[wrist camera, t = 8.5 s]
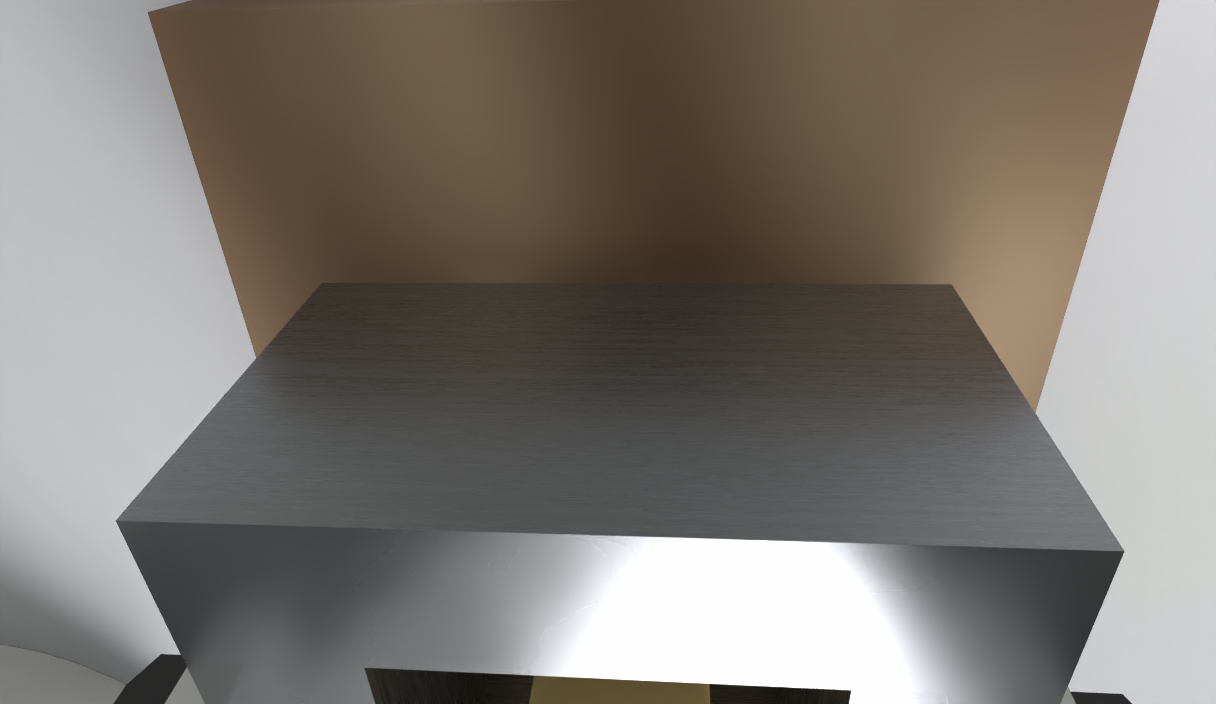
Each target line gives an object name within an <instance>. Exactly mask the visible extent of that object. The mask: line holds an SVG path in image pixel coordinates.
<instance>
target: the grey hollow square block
mask: <svg viewBox="0 0 1216 704" xmlns="http://www.w3.org/2000/svg"><path fill="white" fill-rule="evenodd" d="M116 522H117V524H118V526H119V528H120V530H121V532H122V534H123V537H124V539H125V541H126V543H127V545H128V547H129V549H130V551H131V553H132V555H133V557H134V559H135V561H136V563H137V565H138V567H139V569H140V571H141V574H142V576H143V578H144V580H145V582H146V584H147V586H148V588H149V590H150V592H151V594H152V596H153V598H154V600H155V602H156V604H157V606H158V608H159V611H160V613H161V615H162V617H163V619H164V621H165V623H166V625H167V627H168V629H169V631H170V633H171V635H172V637H173V639H174V641H175V643H176V645H177V648H178V650H179V652H180V654H181V656H182V658H183V660H184V662H185V664H186V666H187V668H188V670H189V672H190V674H191V676H192V678H193V680H194V682H195V685H196V687H197V689H198V691H199V693H200V695H201V697H202V699H203V701H204V703H205V704H529V701H530V695H531V690H532V684H533V679H534V675H535V676H557V677H579V678H600V679H622V680H644V681H665V682H687V683H708V684H710V704H1060V703H1061V701H1062V699H1063V696H1064V694H1065V692H1066V689H1067V687H1068V684H1069V682H1070V680H1071V677H1072V675H1073V673H1074V670H1075V668H1076V665H1077V663H1078V661H1079V658H1080V656H1081V653H1082V651H1083V649H1084V646H1085V644H1086V642H1087V639H1088V637H1089V634H1090V632H1091V630H1092V627H1093V625H1094V623H1095V620H1096V618H1097V615H1098V613H1099V611H1100V608H1101V606H1102V603H1103V601H1104V599H1105V596H1106V594H1107V592H1108V589H1109V587H1110V584H1111V582H1112V580H1113V577H1114V575H1115V573H1116V570H1117V568H1118V565H1119V563H1120V561H1121V558H1122V556H1123V553H1124V550H1123V548H1122V547H1121V545H1120V544H1119V542H1118V541H1117V539H1116V538H1115V536H1114V534H1113V533H1112V531H1111V530H1110V528H1109V527H1108V525H1107V524H1106V522H1105V521H1104V519H1103V517H1102V516H1101V514H1100V513H1099V511H1098V510H1097V508H1096V507H1095V505H1094V504H1093V502H1092V500H1091V499H1090V497H1089V496H1088V494H1087V493H1086V491H1085V490H1084V488H1083V486H1082V485H1081V483H1080V482H1079V480H1078V479H1077V477H1076V476H1075V474H1074V473H1073V471H1072V469H1071V468H1070V466H1069V465H1068V463H1067V462H1066V460H1065V459H1064V457H1063V456H1062V454H1061V452H1060V451H1059V449H1058V448H1057V446H1056V445H1055V443H1054V442H1053V440H1052V439H1051V437H1050V435H1049V434H1048V432H1047V431H1046V429H1045V428H1044V426H1043V425H1042V423H1041V422H1040V420H1039V418H1038V417H1037V415H1036V414H1035V412H1034V411H1033V409H1032V408H1031V406H1030V405H1029V403H1028V401H1027V400H1026V398H1025V397H1024V395H1023V394H1022V392H1021V391H1020V389H1019V388H1018V386H1017V384H1016V383H1015V381H1014V380H1013V378H1012V377H1011V375H1010V374H1009V372H1008V370H1007V369H1006V367H1005V366H1004V364H1003V363H1002V361H1001V360H1000V358H999V357H998V355H997V353H996V352H995V350H994V349H993V347H992V346H991V344H990V343H989V341H988V340H987V338H986V336H985V335H984V333H983V332H982V330H981V329H980V327H979V326H978V324H977V323H976V321H975V319H974V318H973V316H972V315H971V313H970V312H969V310H968V309H967V307H966V306H965V304H964V302H963V301H962V299H961V298H960V296H959V295H958V293H957V292H956V290H955V289H954V287H953V285H952V284H612V283H321V284H320V285H319V287H318V288H317V289H316V290H315V291H314V292H313V294H312V295H311V296H310V297H309V298H308V299H307V300H306V302H305V303H304V304H303V305H302V306H301V307H300V309H299V310H298V311H297V312H296V313H295V314H294V315H293V317H292V318H291V319H290V320H289V321H288V322H287V324H286V325H285V326H284V327H283V328H282V329H281V330H280V332H279V333H278V334H277V335H276V336H275V337H274V339H273V340H272V341H271V342H270V343H269V344H268V345H267V347H266V348H265V349H264V350H263V351H262V352H261V354H260V355H259V356H258V357H257V358H256V359H255V361H254V362H253V363H252V364H251V365H250V366H249V367H248V369H247V370H246V371H245V372H244V373H243V374H242V376H241V377H240V378H239V379H238V380H237V381H236V382H235V384H234V385H233V386H232V387H231V388H230V389H229V391H228V392H227V393H226V394H225V395H224V396H223V397H222V399H221V400H220V401H219V402H218V403H217V404H216V406H215V407H214V408H213V409H212V410H211V411H210V412H209V414H208V415H207V416H206V417H205V418H204V419H203V421H202V422H201V423H200V424H199V425H198V426H197V428H196V429H195V430H194V431H193V432H192V433H191V434H190V436H189V437H188V438H187V439H186V440H185V441H184V443H183V444H182V445H181V446H180V447H179V448H178V449H177V451H176V452H175V453H174V454H173V455H172V456H171V458H170V459H169V460H168V461H167V462H166V463H165V464H164V466H163V467H162V468H161V469H160V470H159V471H158V473H157V474H156V475H155V476H154V477H153V478H152V479H151V481H150V482H149V483H148V484H147V485H146V486H145V488H144V489H143V490H142V491H141V492H140V493H139V495H138V496H137V497H136V498H135V499H134V500H133V501H132V503H131V504H130V505H129V506H128V507H127V508H126V510H125V511H124V512H123V513H122V514H121V515H120V516H119V518H118V519H117V520H116Z"/></svg>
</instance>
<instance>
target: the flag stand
mask: <svg viewBox="0 0 1216 704" xmlns="http://www.w3.org/2000/svg"><path fill="white" fill-rule="evenodd" d="M125 686H126V685H124V684H123V683H121V682H119V681H117V680H115V679H113V678H111V677H109V676H106V675H104V674H101V673H99V672H97V671H94V670H92V669H90V668H87V667H85V666H82V665H80V664H78V663H74V662H71V661H68V660H65V659H61V658H58V657H55V656H52V655H48V654H45V653H42V652H38V651H33V650H28V649H22V648H17V647H12V646H7V645H2V644H0V704H113V703H114V702H115V700H116V699H117V698H118V696H119V695H120V693H121V692H122V690H123V689H124V687H125Z"/></svg>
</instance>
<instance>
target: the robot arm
mask: <svg viewBox="0 0 1216 704" xmlns="http://www.w3.org/2000/svg"><path fill="white" fill-rule="evenodd" d="M113 704H205V703H204V701H203V699H202V697H201V695H200V693H199V691H198V689H197V687H196V685H195V682H194V680H193V678H192V676H191V674H190V672H189V670H188V668H187V666H186V664H185V662H184V660H183V658H182V656H181V655H168V654H161V655H160V656H159V657H158V658H156V659H155V660H154V661H153V662H152V663H151V664H150V665H148V666H147V667H146V668H145V669H144V670H143V671H142V672H141V673H139V674H138V675H137V676H136V677H135V678H134V679H133V680H132V681H130V682H129V683H128V684H127V685H126V686H125V687H124V689H123V690H122V692H121V693H120V695H119V696H118V698H117V699H116V700H115V702H114V703H113ZM1060 704H1132V703H1131V702H1130V701H1129V700H1128V699H1127V698H1126V697H1125V696H1124V695H1123V694H1108V693H1085V692H1070V690H1069V688H1068V687H1067V689H1066V692H1065V694H1064V696H1063V699H1062V701H1061V703H1060Z"/></svg>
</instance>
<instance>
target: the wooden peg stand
mask: <svg viewBox="0 0 1216 704" xmlns="http://www.w3.org/2000/svg"><path fill="white" fill-rule="evenodd" d="M1158 3H1159V0H191V1H188V2H184V3H180V4H176V5H173V6H169V7H165V8H162V9H158V10H154V11H151V12H148V15H149V18H150V21H151V24H152V27H153V31H154V34H155V37H156V40H157V43H158V46H159V50H160V53H161V56H162V59H163V62H164V66H165V69H166V72H167V75H168V78H169V81H170V85H171V88H172V91H173V94H174V97H175V100H176V104H177V107H178V110H179V113H180V116H181V120H182V123H183V126H184V129H185V132H186V135H187V139H188V142H189V145H190V148H191V151H192V155H193V158H194V161H195V164H196V167H197V170H198V174H199V177H200V180H201V183H202V186H203V189H204V193H205V196H206V199H207V202H208V205H209V209H210V212H211V215H212V218H213V221H214V224H215V228H216V231H217V234H218V237H219V240H220V243H221V247H222V250H223V253H224V256H225V259H226V263H227V266H228V269H229V272H230V275H231V278H232V282H233V285H234V288H235V291H236V294H237V298H238V301H239V304H240V307H241V310H242V313H243V317H244V320H245V323H246V326H247V329H248V332H249V336H250V339H251V342H252V345H253V348H254V352H255V355H256V358H257V357H258V356H259V355H260V354H261V352H262V351H263V350H264V349H265V348H266V347H267V345H268V344H269V343H270V342H271V341H272V340H273V339H274V337H275V336H276V335H277V334H278V333H279V332H280V330H281V329H282V328H283V327H284V326H285V325H286V324H287V322H288V321H289V320H290V319H291V318H292V317H293V315H294V314H295V313H296V312H297V311H298V310H299V309H300V307H301V306H302V305H303V304H304V303H305V302H306V300H307V299H308V298H309V297H310V296H311V295H312V294H313V292H314V291H315V290H316V289H317V288H318V287H319V285H320V284H321V283H612V284H952V285H953V287H954V289H955V290H956V292H957V293H958V295H959V296H960V298H961V299H962V301H963V302H964V304H965V306H966V307H967V309H968V310H969V312H970V313H971V315H972V316H973V318H974V319H975V321H976V323H977V324H978V326H979V327H980V329H981V330H982V332H983V333H984V335H985V336H986V338H987V340H988V341H989V343H990V344H991V346H992V347H993V349H994V350H995V352H996V353H997V355H998V357H999V358H1000V360H1001V361H1002V363H1003V364H1004V366H1005V367H1006V369H1007V370H1008V372H1009V374H1010V375H1011V377H1012V378H1013V380H1014V381H1015V383H1016V384H1017V386H1018V388H1019V389H1020V391H1021V392H1022V394H1023V395H1024V397H1025V398H1026V400H1027V401H1028V403H1029V405H1030V406H1031V408H1032V409H1033V411H1034V412H1036V409H1037V405H1038V402H1039V399H1040V395H1041V392H1042V389H1043V385H1044V382H1045V379H1046V375H1047V372H1048V369H1049V365H1050V362H1051V359H1052V355H1053V352H1054V349H1055V345H1056V342H1057V339H1058V335H1059V332H1060V329H1061V325H1062V322H1063V319H1064V316H1065V312H1066V309H1067V306H1068V302H1069V299H1070V296H1071V292H1072V289H1073V286H1074V282H1075V279H1076V276H1077V272H1078V269H1079V266H1080V262H1081V259H1082V256H1083V252H1084V249H1085V246H1086V242H1087V239H1088V236H1089V232H1090V229H1091V226H1092V222H1093V219H1094V216H1095V213H1096V209H1097V206H1098V203H1099V199H1100V196H1101V193H1102V189H1103V186H1104V183H1105V179H1106V176H1107V173H1108V169H1109V166H1110V163H1111V159H1112V156H1113V153H1114V149H1115V146H1116V143H1117V139H1118V136H1119V133H1120V129H1121V126H1122V123H1123V119H1124V116H1125V113H1126V110H1127V106H1128V103H1129V100H1130V96H1131V93H1132V90H1133V86H1134V83H1135V80H1136V76H1137V73H1138V70H1139V66H1140V63H1141V60H1142V56H1143V53H1144V50H1145V46H1146V43H1147V40H1148V36H1149V33H1150V30H1151V26H1152V23H1153V20H1154V16H1155V13H1156V10H1157V7H1158ZM529 704H710V684H708V683H687V682H665V681H644V680H622V679H600V678H579V677H557V676H535V675H534V679H533V684H532V690H531V695H530V701H529Z"/></svg>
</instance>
